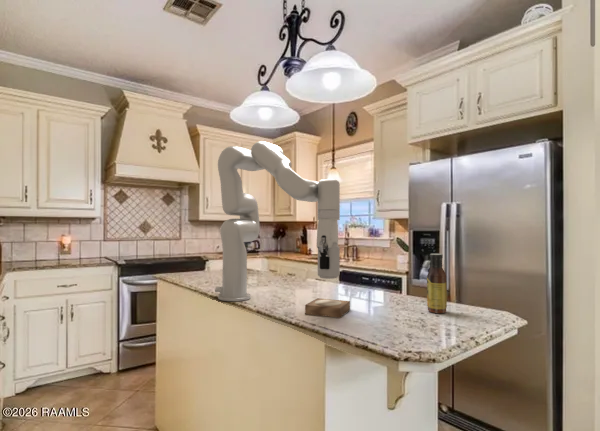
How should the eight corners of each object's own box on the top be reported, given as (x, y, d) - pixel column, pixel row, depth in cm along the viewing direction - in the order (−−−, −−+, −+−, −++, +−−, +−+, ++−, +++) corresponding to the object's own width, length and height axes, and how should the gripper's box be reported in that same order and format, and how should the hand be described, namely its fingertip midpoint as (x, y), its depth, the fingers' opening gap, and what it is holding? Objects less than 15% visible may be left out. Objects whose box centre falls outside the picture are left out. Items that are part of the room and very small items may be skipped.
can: (338, 279, 121) (338, 242, 121) (315, 278, 122) (315, 242, 123) (340, 276, 128) (340, 241, 128) (319, 275, 130) (319, 241, 130)
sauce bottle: (432, 308, 130) (432, 252, 131) (449, 312, 126) (449, 253, 126) (423, 312, 126) (423, 253, 126) (441, 315, 121) (441, 254, 122)
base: (305, 314, 122) (305, 304, 122) (317, 306, 133) (317, 297, 133) (340, 317, 117) (340, 307, 117) (349, 309, 128) (349, 300, 128)
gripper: (326, 216, 135) (326, 264, 135) (309, 215, 119) (308, 270, 119) (346, 216, 132) (346, 265, 132) (331, 215, 116) (331, 271, 116)
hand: (328, 267), depth 125 cm, fingers closed on can, 7 cm apart
